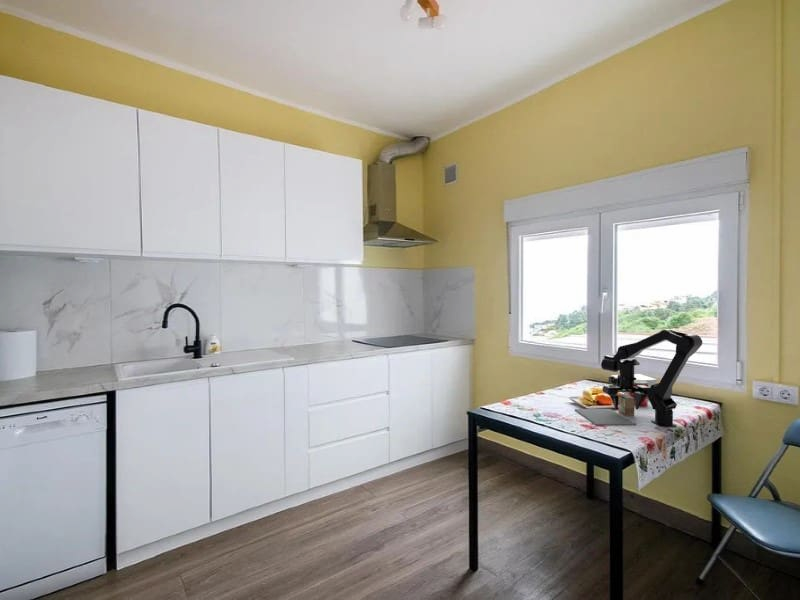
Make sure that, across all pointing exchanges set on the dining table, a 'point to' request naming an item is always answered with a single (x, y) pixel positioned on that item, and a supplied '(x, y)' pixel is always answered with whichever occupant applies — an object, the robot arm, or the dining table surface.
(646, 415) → the dining table surface
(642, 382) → the canned food
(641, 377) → the supplement box
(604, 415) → the mat
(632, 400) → the block
